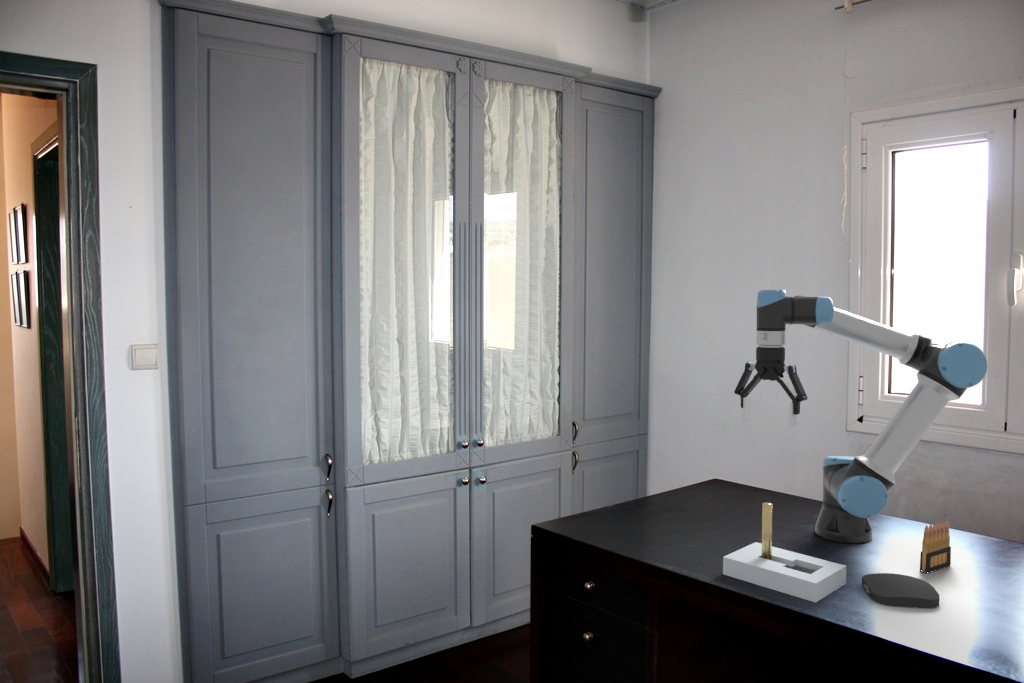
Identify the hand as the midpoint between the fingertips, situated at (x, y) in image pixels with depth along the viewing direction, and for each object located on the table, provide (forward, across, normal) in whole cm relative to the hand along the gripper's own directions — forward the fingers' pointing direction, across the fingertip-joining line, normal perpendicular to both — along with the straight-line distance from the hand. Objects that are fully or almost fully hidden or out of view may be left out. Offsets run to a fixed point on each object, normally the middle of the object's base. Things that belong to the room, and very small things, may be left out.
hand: (769, 423), depth 210 cm
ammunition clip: (+35, +38, +15) cm, 54 cm away
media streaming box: (+35, +38, -9) cm, 53 cm away
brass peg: (+35, +10, -19) cm, 41 cm away
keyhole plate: (+35, +14, -19) cm, 42 cm away
